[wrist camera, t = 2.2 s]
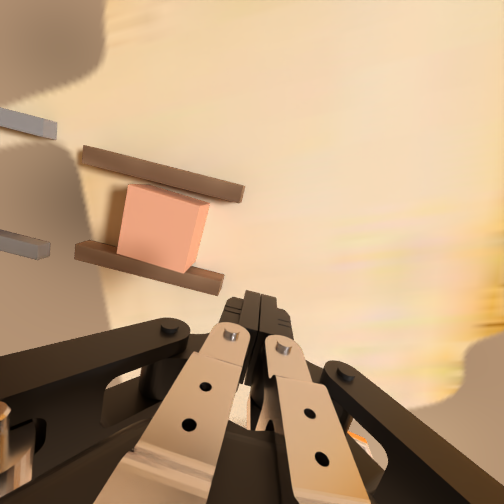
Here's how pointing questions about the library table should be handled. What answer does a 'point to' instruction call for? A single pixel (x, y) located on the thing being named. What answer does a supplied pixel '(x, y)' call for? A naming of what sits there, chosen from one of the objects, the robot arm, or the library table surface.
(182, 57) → the library table surface
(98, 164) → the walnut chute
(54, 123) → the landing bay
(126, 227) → the terracotta block
